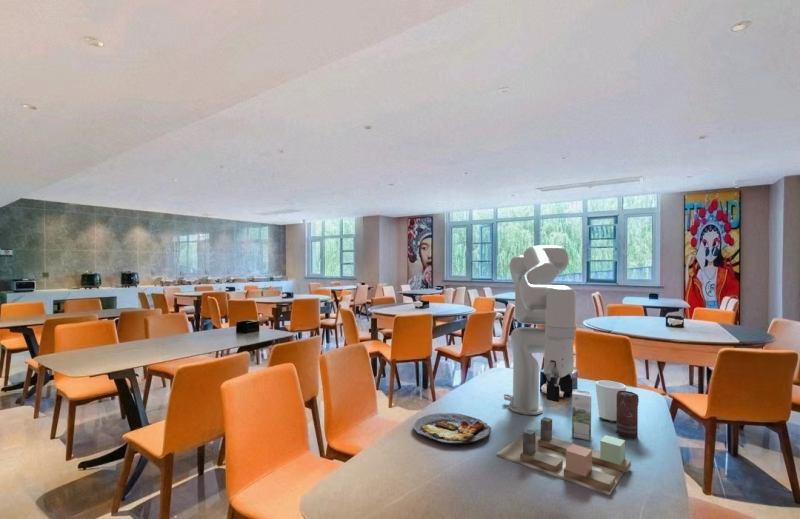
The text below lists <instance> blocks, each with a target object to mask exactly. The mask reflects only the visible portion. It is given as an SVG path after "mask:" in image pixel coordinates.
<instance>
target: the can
mask: <svg viewBox="0 0 800 519" xmlns="http://www.w3.org/2000/svg"><path fill="white" fill-rule="evenodd" d="M639 402H640V400H639V395H638V394H637V393H635V392H633V391H629V390H628V391H627V390H626V391H618V393H617V410H616V421H615V422H616V424H615V427H616V428H615V429H616V431H615V432H616V435H617V436H618V437H620V438H623V439H627V440H635V439H637V438H638V435H639V434H638V432H639V431H638V430H639V428H638V427H639V426H638V423H639V415H638V414H639V412H638V411H639V409H638V408H639Z"/></svg>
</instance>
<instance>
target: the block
mask: <svg viewBox="0 0 800 519" xmlns="http://www.w3.org/2000/svg"><path fill="white" fill-rule="evenodd" d="M574 444H575V443H573V444H572V445H571V446H570V447H569V448H568V449H567V450H566V470H568V471H571V472H574V473H577V474H580V475H583V476H587V475H588V473H589V472H590V471H591V470H592V450H591V449H592V448H591V449H587V448H588V447H587V448H584V447H585V446H584V447H580V446H581V445H580V446H577V445H578V444H577V445H574Z"/></svg>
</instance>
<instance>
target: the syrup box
mask: <svg viewBox="0 0 800 519" xmlns="http://www.w3.org/2000/svg"><path fill="white" fill-rule="evenodd" d="M571 396H572V397H571V403H572V404H571V437H572V439H573V438H574V439H577V440H578V439H579V440H584V441H592V391H590V390H582V389H574V388H572V393H571Z"/></svg>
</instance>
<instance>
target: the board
mask: <svg viewBox="0 0 800 519" xmlns="http://www.w3.org/2000/svg"><path fill="white" fill-rule="evenodd" d="M540 438H541V436H540V435H536V447H535V451H537V452H541V453H544V454H547V455H550V456H553V457H556V458H559V459H562V460H563V466H562V467H561V468H560V469H559V470H558V471H557V472H554V471H551V470H549V469H546V468H543V467H540V466H537V465H534V464H531V463H528V462H526V461H523V460H520V454H521V453H523V434H522V435H521V436H520V437H518V438H516V439H514V440H513V441H512V442H511V443H508V445H507V446H505V447H503V448H502V449H501V450H499V451H498V452H497V453H496V456H497V457H500V458H503V459H505V460H509V461H512V462H514V463H517V464H519V465H523V466H525V467H528V468H531V469H532V470H533V469H534V470H537V471H540V472H542V473H545V474H548V475H552V476H554V477H557V478H559V479H562V480H565V481H568V482H570V483H572V484H573V483H574V484H575V485H578V486H581V487H585V488H587V489H589V490H593V491H596V492H598V493H602V494H604V495H607V496H610V495H611V494H612V492H613V490H614V489H615V487H616V485H617V484H618V483H619V482H620V479H621V478H622V476H623V475H624V473H625V472H623V471H619V470H616V469H613V468H610V467H607V466H603V465H600V464H597V463H594V462H592V469H593V470H596V471H599V472H602V473H605V474H609V475H612V476H615V485H614V486H613V488H612V489H611V491H610V492H608V491H605V490H603V489H600V488H597V487H594V486H591V485H588V484H585V483H582V482H580V481H577V480H574V479H571V478H568V477H565V476H564V468H565V467H566V454H565V453H562V452H559V451H555V450H552V449H549V448H546V447H543V446H539V445H538V440H539V439H540Z"/></svg>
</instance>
